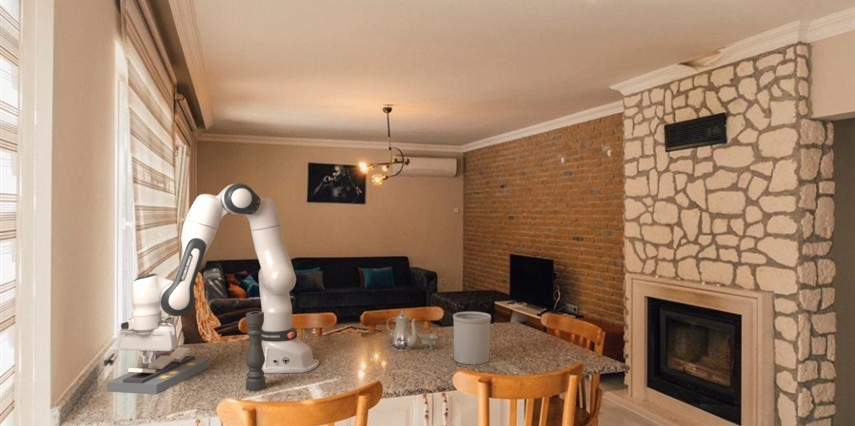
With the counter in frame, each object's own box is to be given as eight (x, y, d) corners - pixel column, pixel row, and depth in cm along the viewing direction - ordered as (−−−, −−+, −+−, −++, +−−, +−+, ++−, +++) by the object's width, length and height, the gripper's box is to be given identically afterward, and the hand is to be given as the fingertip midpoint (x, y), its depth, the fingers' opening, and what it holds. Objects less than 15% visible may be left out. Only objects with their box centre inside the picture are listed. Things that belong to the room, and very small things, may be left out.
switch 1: (155, 373, 183) (155, 369, 183) (141, 372, 176) (142, 368, 177) (141, 372, 184) (142, 368, 184) (128, 371, 177) (128, 368, 178)
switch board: (209, 366, 203) (209, 356, 203) (156, 394, 174) (156, 381, 174) (165, 364, 206) (165, 354, 206) (106, 391, 177) (106, 379, 177)
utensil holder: (496, 357, 215) (495, 313, 215) (483, 367, 201) (483, 320, 201) (461, 353, 221) (461, 310, 221) (447, 362, 208) (447, 317, 207)
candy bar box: (164, 356, 218) (163, 315, 218) (175, 357, 217) (174, 316, 217) (144, 364, 207) (143, 321, 207) (155, 365, 206) (155, 322, 206)
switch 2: (174, 359, 193) (173, 356, 193) (161, 369, 186) (161, 365, 186) (161, 358, 194) (160, 355, 194) (148, 368, 187) (148, 365, 187)
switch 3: (190, 350, 203) (189, 348, 202) (179, 361, 196) (179, 359, 196) (178, 350, 204) (177, 347, 203) (167, 361, 197) (166, 358, 197)
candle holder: (248, 385, 182) (247, 311, 182) (267, 385, 182) (266, 311, 182) (243, 391, 176) (243, 315, 175) (263, 391, 176) (262, 314, 176)
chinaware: (444, 351, 230) (446, 311, 231) (423, 356, 216) (425, 314, 217) (391, 342, 245) (393, 305, 246) (368, 347, 231) (370, 307, 232)
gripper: (181, 320, 184) (182, 361, 184) (127, 320, 187) (128, 359, 188) (169, 325, 178) (170, 366, 178) (113, 324, 181) (115, 365, 182)
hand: (148, 363), depth 183 cm, fingers closed
